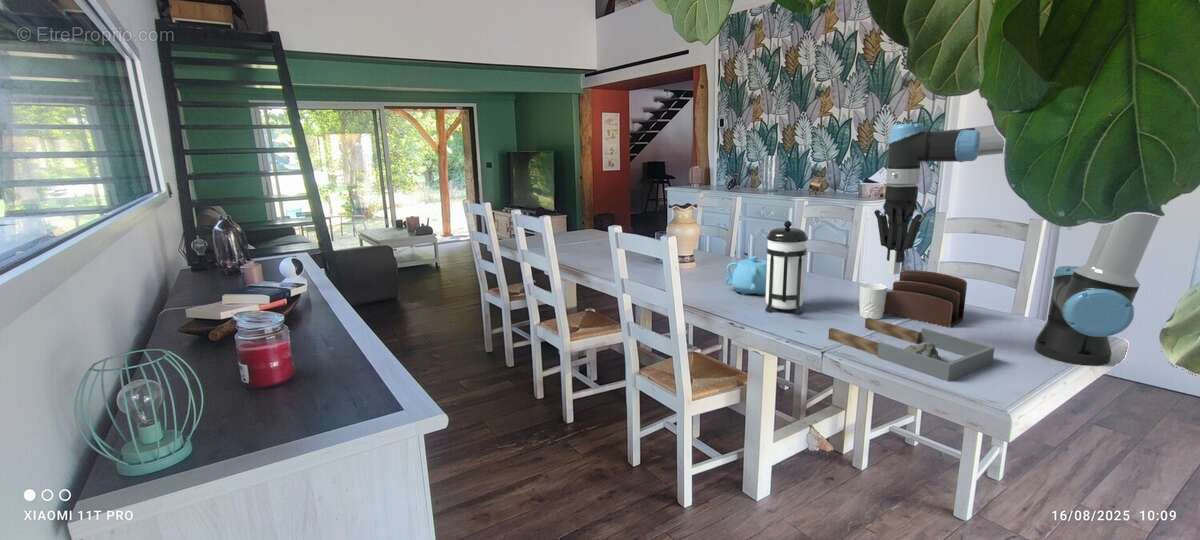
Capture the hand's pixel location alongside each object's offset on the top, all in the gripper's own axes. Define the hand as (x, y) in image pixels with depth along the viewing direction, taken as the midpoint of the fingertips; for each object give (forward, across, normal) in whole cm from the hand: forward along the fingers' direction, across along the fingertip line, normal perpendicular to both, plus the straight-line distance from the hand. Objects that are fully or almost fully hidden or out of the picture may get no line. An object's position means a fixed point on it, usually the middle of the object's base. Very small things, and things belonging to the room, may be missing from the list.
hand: (893, 273), depth 151 cm
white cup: (+21, -18, +19) cm, 33 cm away
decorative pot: (+20, -61, +10) cm, 65 cm away
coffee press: (+21, -38, +2) cm, 43 cm away
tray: (+20, +13, 0) cm, 24 cm away
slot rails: (+20, -4, 0) cm, 21 cm away
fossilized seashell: (+21, +12, -4) cm, 24 cm away
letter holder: (+21, -9, +31) cm, 38 cm away
